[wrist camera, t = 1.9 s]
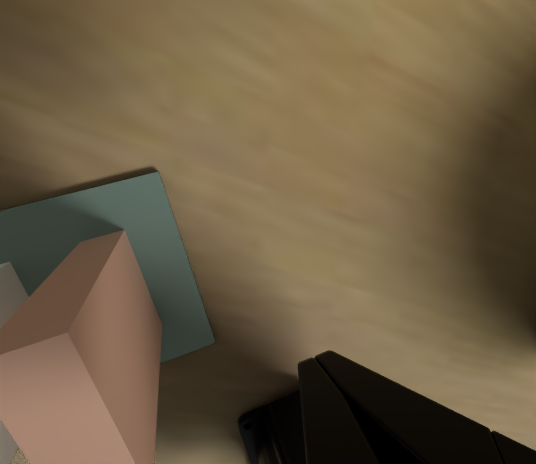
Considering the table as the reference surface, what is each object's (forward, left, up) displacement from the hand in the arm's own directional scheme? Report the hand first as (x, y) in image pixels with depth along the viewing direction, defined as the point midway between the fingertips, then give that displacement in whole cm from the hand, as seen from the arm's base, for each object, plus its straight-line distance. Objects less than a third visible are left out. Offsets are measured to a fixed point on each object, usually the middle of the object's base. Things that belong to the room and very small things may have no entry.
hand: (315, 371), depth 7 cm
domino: (0, +6, -9) cm, 10 cm away
